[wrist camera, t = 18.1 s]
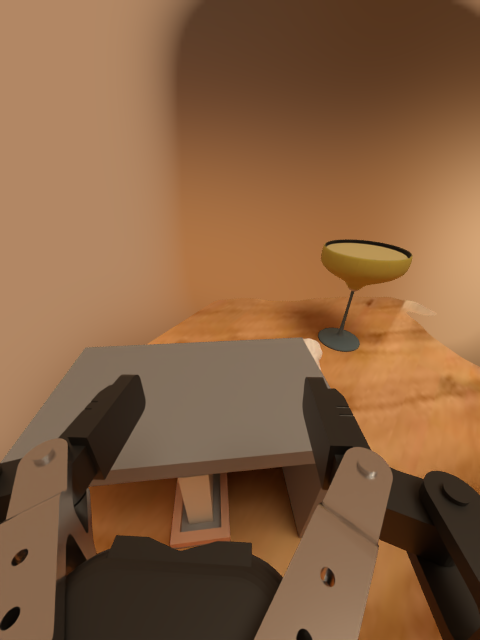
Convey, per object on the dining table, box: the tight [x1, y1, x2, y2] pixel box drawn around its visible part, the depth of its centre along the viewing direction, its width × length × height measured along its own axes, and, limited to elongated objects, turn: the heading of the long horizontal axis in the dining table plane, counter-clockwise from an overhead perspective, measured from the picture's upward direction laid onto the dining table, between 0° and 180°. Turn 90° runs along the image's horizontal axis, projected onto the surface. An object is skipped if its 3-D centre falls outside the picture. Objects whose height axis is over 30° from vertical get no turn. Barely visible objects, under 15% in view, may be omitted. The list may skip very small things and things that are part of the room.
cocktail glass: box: [318, 240, 412, 352], centre depth 58 cm, size 18×18×25 cm
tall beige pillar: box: [178, 474, 213, 525], centre depth 29 cm, size 8×3×12 cm, turn 6°
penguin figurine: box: [303, 338, 322, 370], centre depth 49 cm, size 6×8×12 cm
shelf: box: [1, 338, 331, 549], centre depth 28 cm, size 14×27×20 cm, turn 96°
